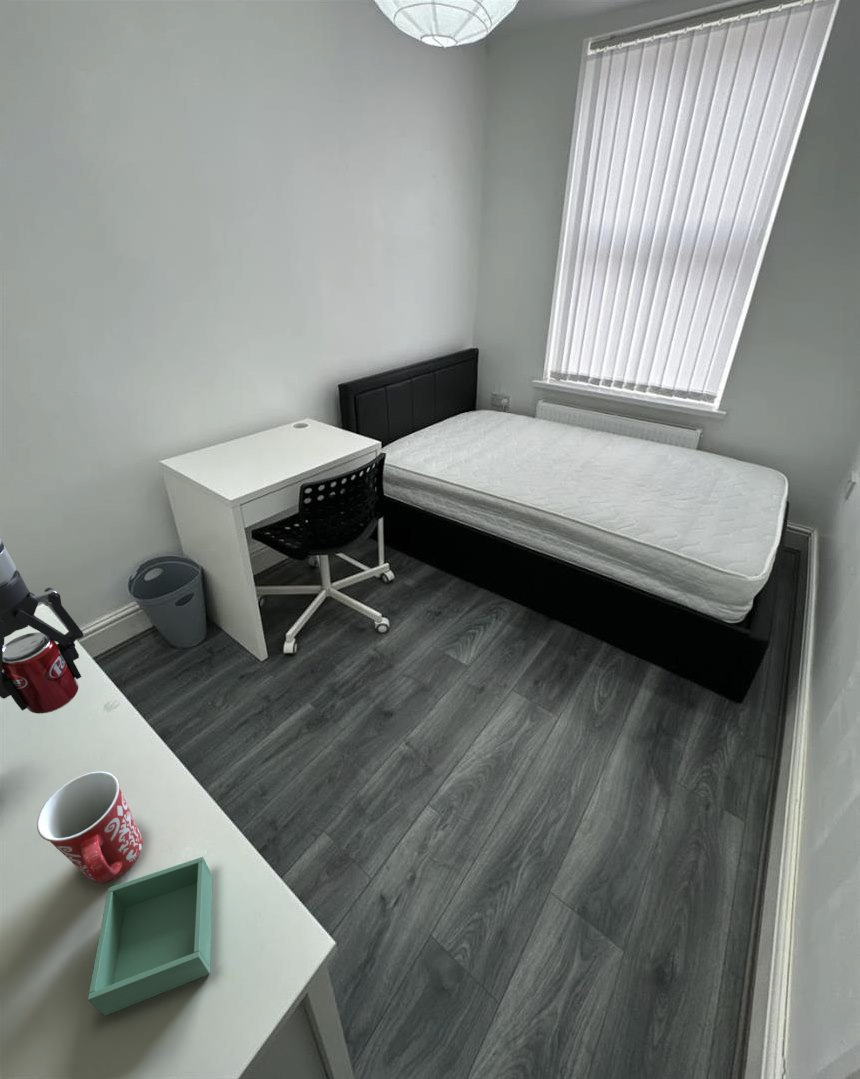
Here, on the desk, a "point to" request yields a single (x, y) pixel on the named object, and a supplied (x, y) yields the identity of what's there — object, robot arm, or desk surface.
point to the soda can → (39, 672)
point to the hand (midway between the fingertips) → (49, 689)
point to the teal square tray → (153, 936)
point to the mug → (92, 826)
